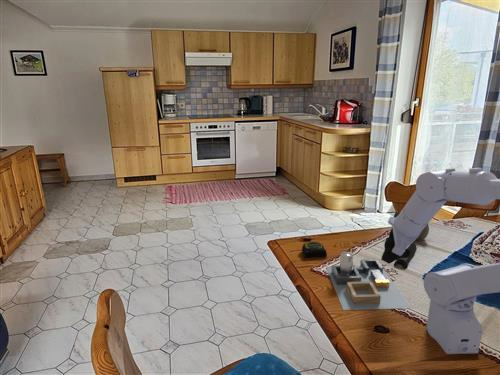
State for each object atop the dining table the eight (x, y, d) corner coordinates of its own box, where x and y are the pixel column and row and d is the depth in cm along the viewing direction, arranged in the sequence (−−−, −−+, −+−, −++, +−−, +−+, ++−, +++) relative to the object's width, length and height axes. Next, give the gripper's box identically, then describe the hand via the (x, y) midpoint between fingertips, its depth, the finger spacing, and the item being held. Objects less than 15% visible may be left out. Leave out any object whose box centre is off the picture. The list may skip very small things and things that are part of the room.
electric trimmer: (419, 253, 102) (420, 244, 101) (405, 274, 91) (406, 264, 90) (406, 250, 104) (407, 241, 103) (391, 270, 93) (392, 260, 92)
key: (389, 287, 83) (389, 282, 82) (376, 288, 83) (376, 282, 83) (380, 274, 89) (380, 269, 88) (368, 275, 89) (368, 270, 88)
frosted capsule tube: (353, 281, 86) (354, 257, 84) (341, 281, 86) (342, 257, 84) (350, 274, 89) (351, 251, 87) (338, 274, 89) (339, 251, 87)
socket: (388, 283, 85) (389, 276, 84) (336, 285, 85) (337, 278, 84) (376, 265, 93) (377, 259, 93) (329, 266, 94) (329, 260, 93)
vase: (400, 236, 113) (402, 212, 110) (416, 232, 115) (419, 209, 112) (415, 244, 106) (418, 219, 104) (432, 240, 108) (435, 216, 106)
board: (410, 311, 75) (411, 308, 75) (343, 313, 76) (343, 309, 76) (380, 268, 94) (380, 265, 93) (325, 269, 94) (326, 266, 94)
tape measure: (304, 262, 99) (304, 251, 98) (300, 251, 105) (300, 241, 104) (326, 261, 99) (327, 250, 98) (321, 250, 105) (321, 240, 104)
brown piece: (380, 303, 77) (380, 296, 77) (353, 304, 77) (354, 297, 77) (371, 288, 83) (371, 281, 82) (346, 288, 83) (346, 281, 83)
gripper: (404, 187, 77) (380, 222, 86) (390, 227, 67) (365, 262, 77) (435, 200, 75) (407, 235, 84) (425, 244, 65) (395, 278, 75)
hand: (389, 249), depth 80 cm, fingers open, 7 cm apart
